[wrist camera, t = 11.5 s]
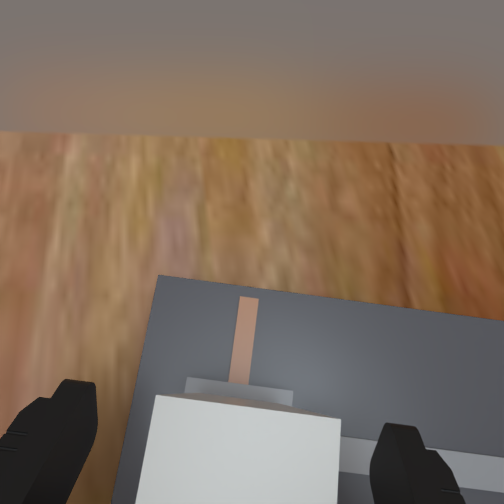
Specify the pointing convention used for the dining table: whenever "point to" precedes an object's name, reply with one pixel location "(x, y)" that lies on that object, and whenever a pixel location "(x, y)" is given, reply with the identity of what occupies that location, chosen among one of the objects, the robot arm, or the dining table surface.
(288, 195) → the dining table surface
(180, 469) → the fader tab
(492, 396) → the console
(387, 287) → the dining table surface
